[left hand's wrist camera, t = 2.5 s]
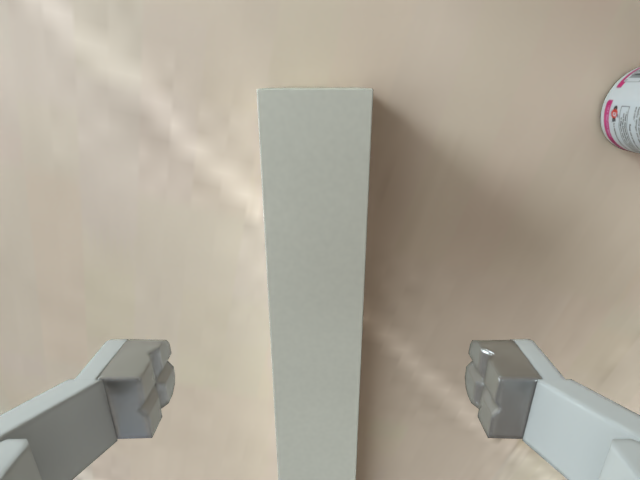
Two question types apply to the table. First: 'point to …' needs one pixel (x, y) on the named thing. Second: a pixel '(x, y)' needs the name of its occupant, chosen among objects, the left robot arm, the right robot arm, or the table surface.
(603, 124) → the pill bottle
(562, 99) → the table surface
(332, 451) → the beam
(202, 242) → the table surface
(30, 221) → the table surface
